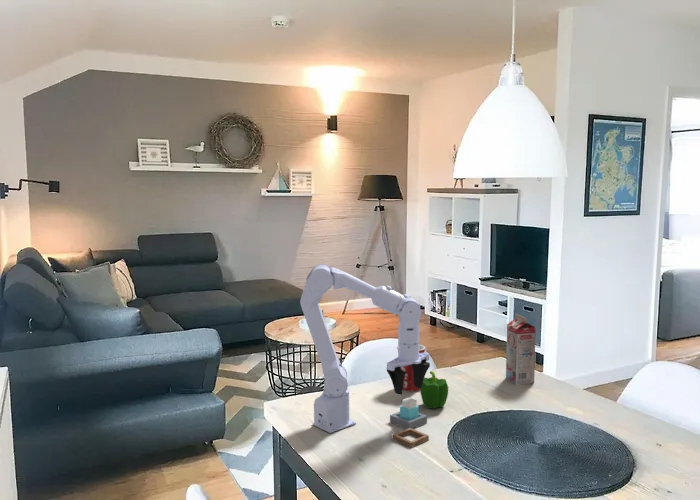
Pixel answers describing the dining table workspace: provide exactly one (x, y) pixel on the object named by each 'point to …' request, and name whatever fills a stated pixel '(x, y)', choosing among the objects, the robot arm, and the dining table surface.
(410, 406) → the plug
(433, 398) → the bell pepper
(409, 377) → the mug
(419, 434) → the wooden square frame
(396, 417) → the port
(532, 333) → the juice carton
